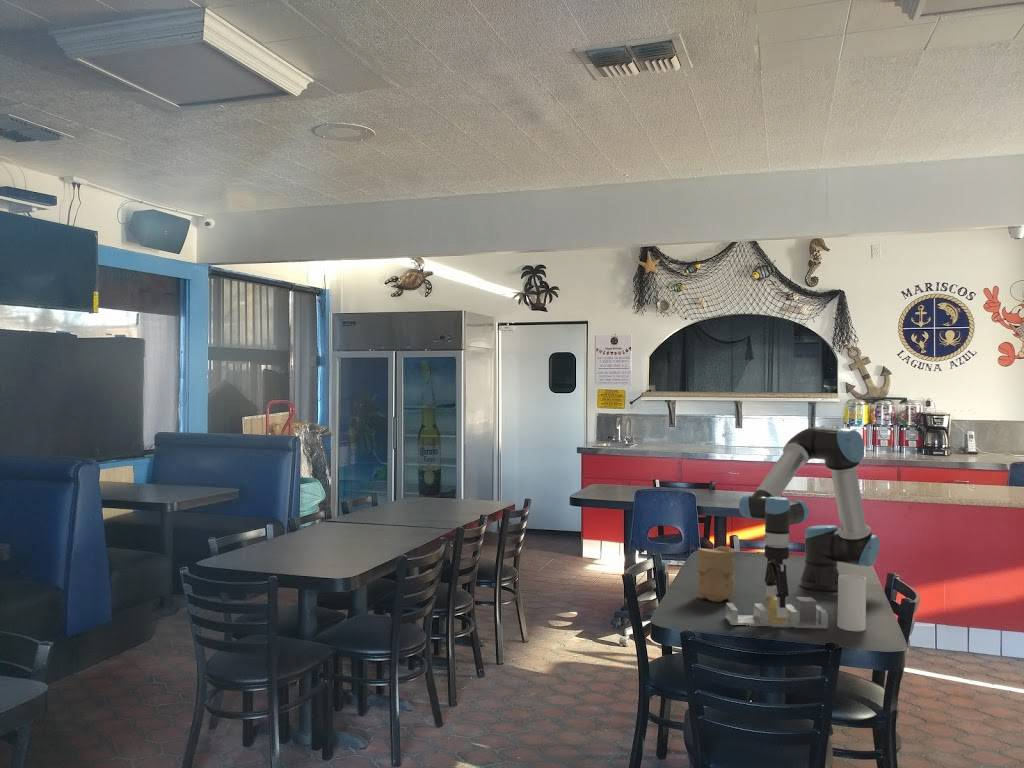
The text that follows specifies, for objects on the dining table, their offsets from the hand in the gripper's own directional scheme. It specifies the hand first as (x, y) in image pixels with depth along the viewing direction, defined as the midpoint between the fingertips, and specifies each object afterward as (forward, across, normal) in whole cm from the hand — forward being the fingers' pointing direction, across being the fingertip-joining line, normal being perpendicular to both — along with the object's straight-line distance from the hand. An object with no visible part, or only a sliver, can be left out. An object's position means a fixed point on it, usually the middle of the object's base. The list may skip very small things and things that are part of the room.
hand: (775, 611), depth 272 cm
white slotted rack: (+4, 0, 0) cm, 4 cm away
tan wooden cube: (+3, 0, 0) cm, 3 cm away
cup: (+4, +2, +23) cm, 23 cm away
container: (+4, -28, -14) cm, 32 cm away
